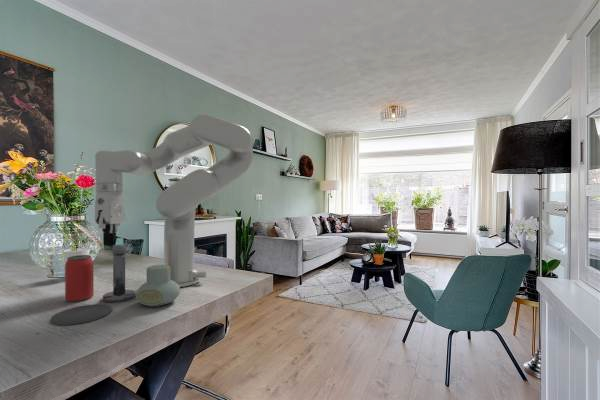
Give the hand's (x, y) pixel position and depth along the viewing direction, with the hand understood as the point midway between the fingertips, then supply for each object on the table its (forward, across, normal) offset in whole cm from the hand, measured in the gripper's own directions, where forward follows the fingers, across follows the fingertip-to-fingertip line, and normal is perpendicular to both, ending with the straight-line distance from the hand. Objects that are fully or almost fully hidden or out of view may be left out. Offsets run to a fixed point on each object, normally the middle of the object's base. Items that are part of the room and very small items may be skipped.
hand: (109, 245), depth 100 cm
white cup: (+13, +12, +18) cm, 26 cm away
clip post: (+13, -13, -9) cm, 21 cm away
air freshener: (+14, -18, -22) cm, 32 cm away
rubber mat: (+13, -26, -7) cm, 30 cm away
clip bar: (+1, -5, -5) cm, 7 cm away
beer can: (+14, -13, +2) cm, 19 cm away
